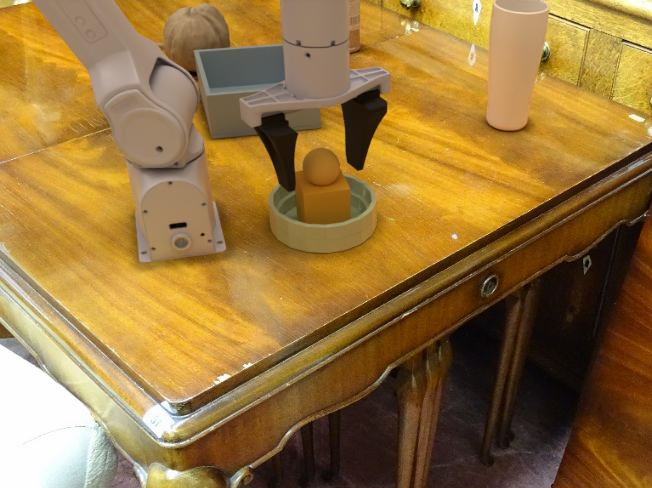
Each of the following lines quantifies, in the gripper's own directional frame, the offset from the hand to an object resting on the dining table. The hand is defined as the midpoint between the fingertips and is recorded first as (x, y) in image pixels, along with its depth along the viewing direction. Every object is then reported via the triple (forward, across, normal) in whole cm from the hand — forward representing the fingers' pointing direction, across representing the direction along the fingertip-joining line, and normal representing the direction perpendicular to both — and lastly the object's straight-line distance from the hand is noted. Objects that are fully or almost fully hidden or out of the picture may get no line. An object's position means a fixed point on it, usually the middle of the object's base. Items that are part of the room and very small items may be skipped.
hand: (321, 176), depth 75 cm
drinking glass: (+6, -32, -8) cm, 34 cm away
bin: (+6, -7, -28) cm, 30 cm away
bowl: (+6, 0, 0) cm, 6 cm away
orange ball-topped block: (+5, 0, 0) cm, 5 cm away
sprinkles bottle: (+6, -28, -40) cm, 49 cm away
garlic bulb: (+6, -6, -43) cm, 44 cm away
